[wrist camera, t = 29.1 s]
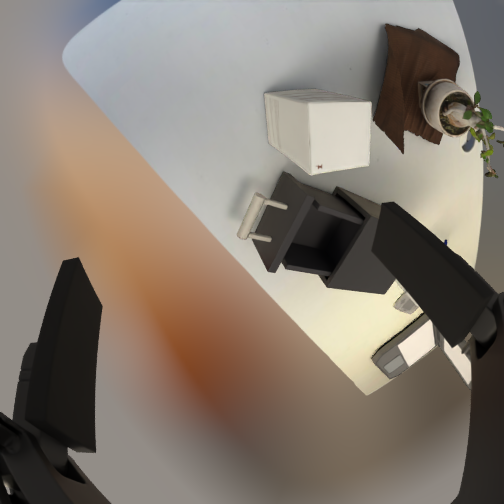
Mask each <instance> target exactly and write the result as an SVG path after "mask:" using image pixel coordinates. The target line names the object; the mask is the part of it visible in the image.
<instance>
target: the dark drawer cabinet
mask: <svg viewBox="0 0 504 504" xmlns="http://www.w3.org/2000/svg"><path fill="white" fill-rule="evenodd" d="M332 195H334V196H336V197H339V198H341V199H344V200H346V201H347V202H348V203H350V204H351V205H352V206H353V207H354V208H355V209H356V210H357V211H359V212H360V213H361V214H362V215H363V216H364V217H365V220H364V221H363V223H362V225H361V226H360V228H359V230H358V232H357V233H356V235H355V237H354V238H353V240H352V242H351V243H350V245H349V247H348V248H347V250H346V251H345V253H344V255H343V256H342V258H341V260H340V261H339V263H338V264H337V266H336V267H335V269H334V271H333V272H332V274H331V275H330V276H324V275H319V277H320V278H321V280H322V281H323V283H324V284H325V285H326V287H327V288H334V289H342V290H351V291H359V292H367V293H376V294H385V293H386V292H387V290H388V289H389V288H390V286H391V285H392V284H393V282H394V281H395V279H396V278H395V277H394V276H393V275H392V274H391V273H390V271H389V270H388V269H387V268H386V267H385V266H384V265H383V264H382V262H381V261H380V260H379V259H378V258H377V257H376V256H375V255H374V254H373V253H372V252H371V249H372V245H373V241H374V237H375V233H376V228H377V224H378V219H379V215H380V210H381V205H378V204H376V203H374V202H372V201H370V200H367V199H365V198H363V197H361V196H358V195H356V194H354V193H351V192H349V191H347V190H344V189H342V188H340V187H336V188H335V190H334V192H333V194H332Z"/></svg>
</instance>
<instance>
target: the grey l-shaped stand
mask: <svg viewBox="0 0 504 504" xmlns="http://www.w3.org/2000/svg"><path fill="white" fill-rule="evenodd" d="M418 307H419V306H418ZM418 307H417V306H416V305H415V304H414V302H413V301H412V300H411V299H410V298H409V297H408V295H407V294H406V293H405V292H404V293H403V295H402V296H401V297H400V298H399V299H398V300H397V301H396V302H395V304H394V308H395V309H397V310H399V311H402V312H405V313H408V314H412V313H413V312H414V311H415V310H416V309H417V308H418Z"/></svg>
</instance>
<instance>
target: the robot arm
mask: <svg viewBox="0 0 504 504" xmlns="http://www.w3.org/2000/svg"><path fill="white" fill-rule="evenodd" d="M371 252H372V253H373V254H374V255H375V256H376V257H377V258H378V259H379V260H380V261H381V262H382V264H383V265H384V266H385V267H386V268H387V269H388V270H389V271H390V273H391V274H392V275H393V276H394V277H395V278H396V279H397V281H398V282H399V283H400V284H401V285H402V286H403V287H404V289H405V290H406V291H407V292H408V293H409V295H410V296H411V297H412V298H413V299H414V301H415V302H416V303H417V304H418V305H419V307H420V308H421V309H422V310H423V312H424V313H425V314H426V315H427V317H428V318H429V319H430V320H431V322H432V323H433V324H434V325H435V327H436V328H437V329H438V331H439V332H440V333H441V334H442V336H443V337H444V338H445V340H446V341H447V342H448V344H449V345H450V346H451V348H453V347H455V346H456V345H458V344H459V343H461V342H462V341H463V340H464V339H465V337H466V336H467V335H468V333H469V332H471V334H472V336H471V338H470V339H469V340H468V342H467V343H466V344H465V346H464V347H463V349H462V351H461V354H464V352H465V351H466V350H467V349H468V347H470V349H469V350H468V351H467V353H466V355H470V358H471V412H470V426H469V437H468V446H467V454H466V460H465V467H464V472H463V477H462V482H461V487H460V491H459V494H458V496H457V497H456V499H454V500H453V502H452V503H451V504H504V292H502V293H500V294H498V293H497V292H495V291H494V289H493V288H492V287H491V286H490V285H489V284H488V283H487V282H486V281H485V280H484V279H483V278H482V277H481V276H480V275H479V274H478V273H477V272H475V271H474V269H473V268H472V267H471V266H470V265H468V263H467V262H466V261H465V260H464V259H463V258H462V257H461V256H459V255H458V254H456V253H454V252H453V251H452V250H451V249H450V248H449V247H448V246H446V245H445V244H444V243H443V242H442V241H441V240H440V239H439V238H438V237H436V236H435V235H434V234H433V233H432V232H431V231H429V230H428V229H427V228H426V227H425V226H424V225H422V224H421V223H420V222H419V221H418V220H416V219H415V218H414V217H413V216H411V215H410V214H409V213H408V212H406V211H405V210H404V209H403V208H401V207H400V206H399V205H398V204H396V203H395V202H387V203H382V205H381V210H380V215H379V219H378V224H377V228H376V233H375V237H374V241H373V245H372V249H371ZM101 314H102V304H101V302H100V300H99V299H98V297H97V295H96V293H95V291H94V289H93V287H92V285H91V283H90V281H89V278H88V276H87V274H86V272H85V270H84V268H83V265H82V263H81V261H80V259H79V258H78V257H77V258H73V259H69V260H64V261H63V262H62V265H61V268H60V270H59V273H58V276H57V278H56V281H55V284H54V287H53V290H52V293H51V296H50V299H49V303H48V305H47V309H46V312H45V316H44V319H43V323H42V327H41V330H40V334H39V338H38V342H36V343H30V345H29V347H28V349H27V350H26V352H25V354H24V356H23V361H22V365H21V371H20V375H19V382H18V385H17V392H16V398H15V404H14V412H13V420H11V419H10V418H8V417H7V416H6V415H4V414H3V413H1V412H0V504H111V503H110V502H109V501H108V500H107V499H106V498H105V497H104V495H103V494H102V493H101V492H100V491H99V490H98V489H97V488H96V487H95V486H94V484H93V483H92V482H91V481H90V480H89V479H88V477H87V476H86V475H85V474H84V473H83V471H82V470H81V469H80V468H79V466H78V465H77V464H76V463H75V461H74V460H73V459H72V458H71V457H70V456H69V455H68V453H67V452H68V450H67V448H68V447H69V448H71V449H72V450H74V451H76V452H86V453H96V440H95V383H96V365H97V351H98V340H99V330H100V322H101ZM5 486H6V487H8V488H9V489H10V493H11V494H10V495H9V494H8V493H7V490H6V488H5Z"/></svg>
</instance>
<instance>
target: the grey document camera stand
mask: <svg viewBox="0 0 504 504" xmlns="http://www.w3.org/2000/svg"><path fill="white" fill-rule="evenodd" d="M465 344H466V341H465V340H463V341H462V342H461V343H459V344H458V345H456V346H455V347H453V348H451V346H450V345H449V344H448V342H447V341H446V340H445V338H444V337H443V336H442V334H441V333H440V332H439V331H438V329H437V328H436V327H435V325H434V324H433V323H432V322H431V320H430V319H429V318H428V317H427V315H426V314H424V315H422V316H421V317H420V318H419V319H418V320H416V321H415V322H414V323H413V324H412V325H410V326H409V327H408V328H407V329H405V330H404V331H403V332H402V333H400V334H399V335H398V336H397V337H395V338H394V339H393V340H391V341H390V342H389V343H387V344H386V345H385V346H383V347H382V348H381V349H380V350H378V351H377V352H376V354H375V355H374V356H373V358H372V361H373V363H374V364H375V365H376V366H377V367H378V368H379V369H380V370H381V371H382V372H383V373H384V374H385V375H386V376H387V377H388V378H389V379H392V378H394V377H396V376H398V375H400V374H401V373H402V372H404V371H405V370H407V369H408V368H409V367H411V366H412V365H413V364H414V363H416V362H417V361H418V360H420V359H421V358H422V357H423V356H425V355H426V354H427V353H428V352H430V351H431V350H432V349H433V348H434V347H436V346H437V345H438V346H439V347H441V350H442V351H443V353H444V354H445V356H446V357H447V358H448V360H449V361H450V363H451V364H452V365H453V367H454V368H455V369H456V371H457V373H458V374H459V375H460V377H461V378H462V380H463V382H464V383H465V384H466V386H467V387H468V388H469V389H470V390H471V358H470V355H466V353H467V351H468V350H469V349H470V347H468V349H467V350H466V351H465V352H464V354H461V351H462V349H463V347H464V346H465Z"/></svg>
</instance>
